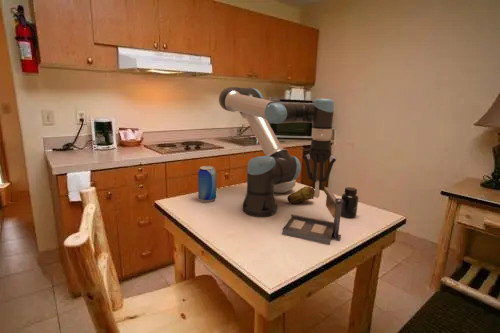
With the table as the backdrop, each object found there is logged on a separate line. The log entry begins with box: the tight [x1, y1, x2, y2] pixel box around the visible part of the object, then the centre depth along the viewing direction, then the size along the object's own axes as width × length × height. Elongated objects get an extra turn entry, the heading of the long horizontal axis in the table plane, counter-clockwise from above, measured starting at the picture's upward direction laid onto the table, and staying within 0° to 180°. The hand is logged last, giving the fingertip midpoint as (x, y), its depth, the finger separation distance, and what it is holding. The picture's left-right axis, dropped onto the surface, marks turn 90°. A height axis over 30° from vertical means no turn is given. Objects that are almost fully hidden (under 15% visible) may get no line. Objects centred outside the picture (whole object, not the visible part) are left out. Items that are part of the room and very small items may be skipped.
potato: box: [286, 186, 315, 204], centre depth 135 cm, size 8×13×8 cm, turn 82°
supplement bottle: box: [340, 186, 359, 219], centre depth 121 cm, size 7×7×12 cm
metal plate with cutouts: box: [281, 214, 334, 246], centre depth 106 cm, size 17×12×3 cm
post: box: [331, 197, 343, 242], centre depth 100 cm, size 4×4×15 cm
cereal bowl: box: [274, 179, 297, 194], centre depth 152 cm, size 17×17×7 cm
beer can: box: [197, 165, 217, 203], centre depth 134 cm, size 8×8×16 cm
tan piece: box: [323, 186, 337, 218], centre depth 110 cm, size 18×2×7 cm, turn 178°
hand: (316, 196), depth 116 cm, fingers closed
